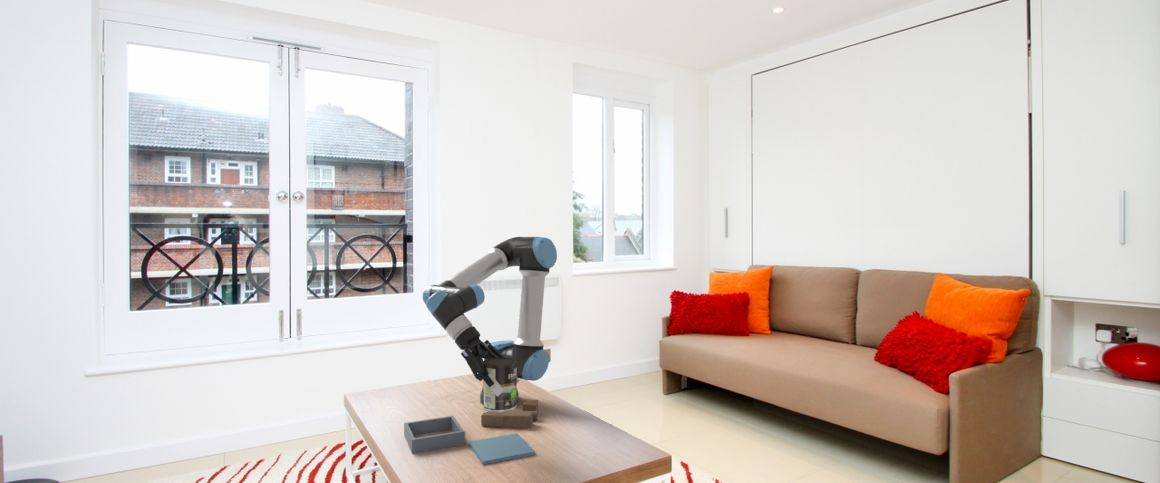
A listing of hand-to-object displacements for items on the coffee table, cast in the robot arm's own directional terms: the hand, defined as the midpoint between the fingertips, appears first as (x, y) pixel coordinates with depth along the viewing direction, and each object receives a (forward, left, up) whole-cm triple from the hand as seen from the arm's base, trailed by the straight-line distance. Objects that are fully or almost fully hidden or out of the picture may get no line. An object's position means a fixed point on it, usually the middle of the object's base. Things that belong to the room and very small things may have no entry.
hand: (509, 388), depth 164 cm
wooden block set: (-10, -26, -20) cm, 34 cm away
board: (+2, -2, -19) cm, 19 cm away
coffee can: (+2, -2, -6) cm, 7 cm away
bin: (+19, -19, -19) cm, 33 cm away
